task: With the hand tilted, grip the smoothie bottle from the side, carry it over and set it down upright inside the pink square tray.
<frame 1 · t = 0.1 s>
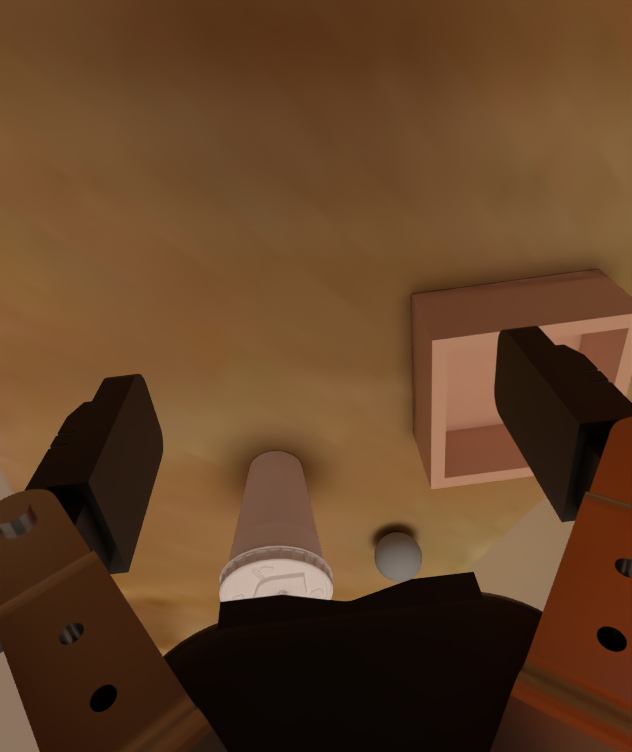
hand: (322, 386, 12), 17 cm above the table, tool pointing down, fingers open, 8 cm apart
smoothie: (275, 468, 38), on the table
ball: (393, 537, 43), on the table
pink square tray: (497, 359, 34), on the table
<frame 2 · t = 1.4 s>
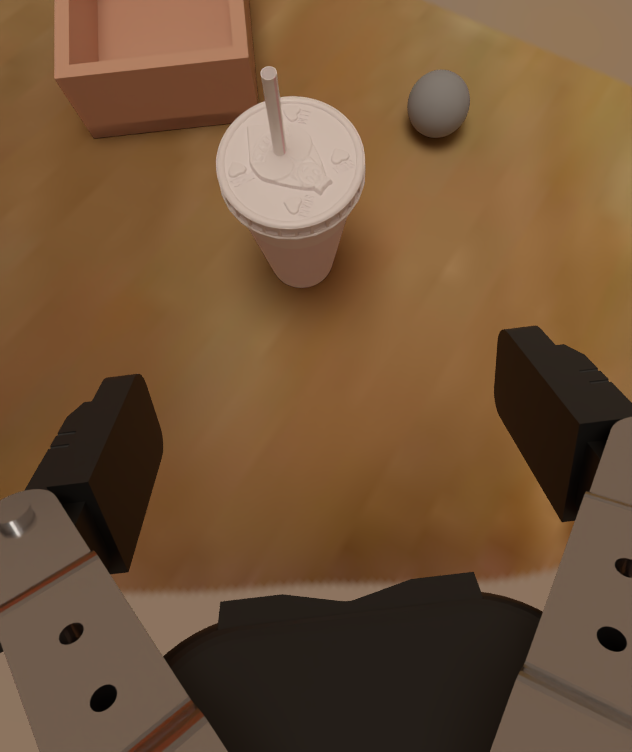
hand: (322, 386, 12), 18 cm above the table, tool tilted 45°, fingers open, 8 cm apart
smoothie: (302, 260, 32), on the table
ball: (432, 124, 34), on the table
pink square tray: (173, 58, 35), on the table
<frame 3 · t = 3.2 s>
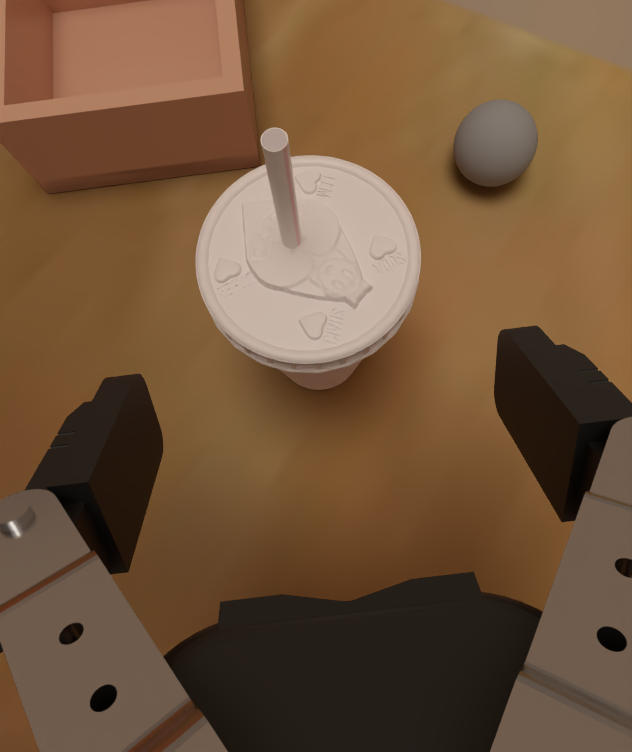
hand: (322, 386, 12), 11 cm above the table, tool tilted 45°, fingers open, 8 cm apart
smoothie: (319, 351, 25), on the table
ball: (484, 168, 26), on the table
pink square tray: (149, 89, 28), on the table
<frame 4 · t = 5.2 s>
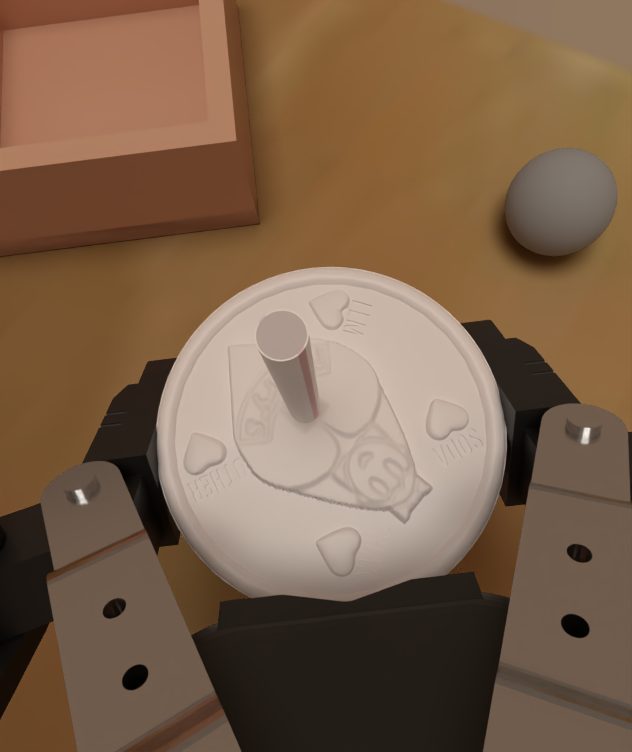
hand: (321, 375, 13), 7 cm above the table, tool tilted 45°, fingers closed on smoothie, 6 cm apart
smoothie: (332, 466, 19), on the table, touching gripper
ball: (540, 228, 21), on the table
pink square tray: (122, 125, 23), on the table
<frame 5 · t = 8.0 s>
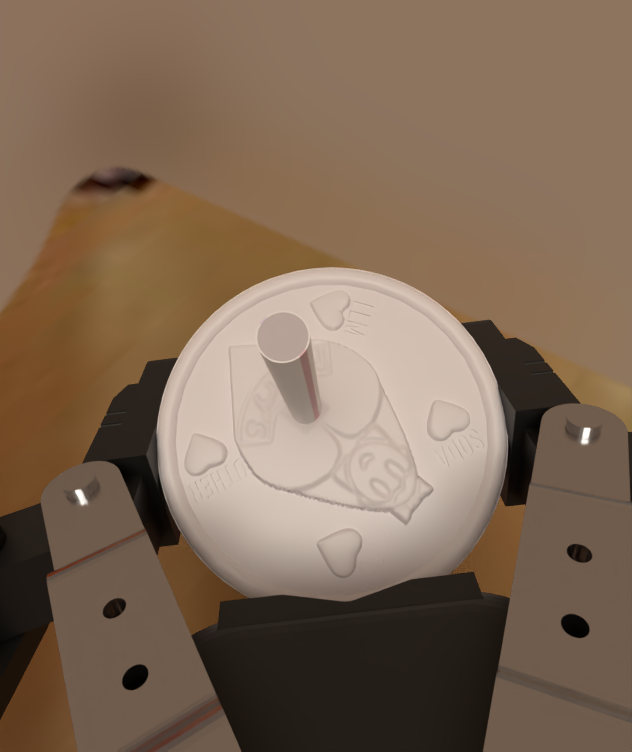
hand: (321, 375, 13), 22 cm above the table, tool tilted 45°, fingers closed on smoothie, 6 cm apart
smoothie: (333, 467, 19), point 15 cm above the table, touching gripper
when the fingers open (10 cm above the table, at t = 11.2 s): smoothie drops 2 cm, resting on pink square tray.
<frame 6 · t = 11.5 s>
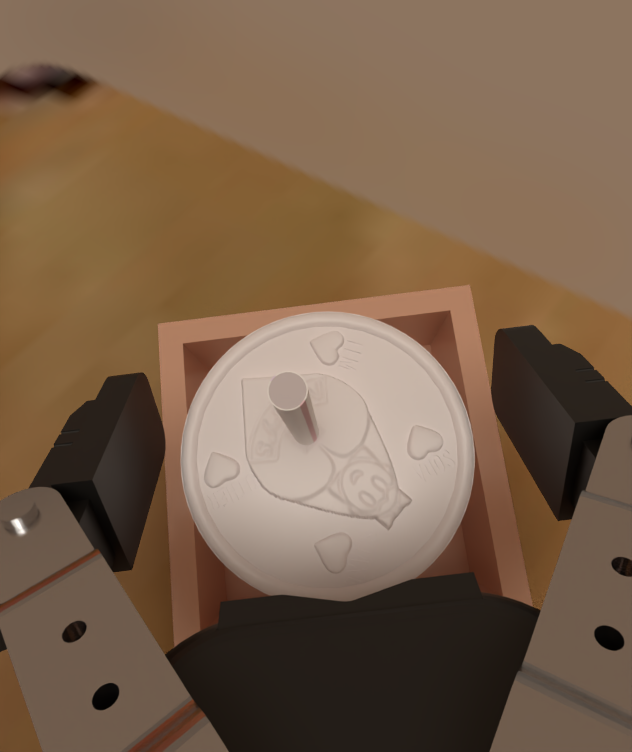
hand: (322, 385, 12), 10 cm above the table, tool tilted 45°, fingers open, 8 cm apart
smoothie: (331, 475, 21), point 1 cm above the table, touching pink square tray
pink square tray: (333, 471, 22), on the table
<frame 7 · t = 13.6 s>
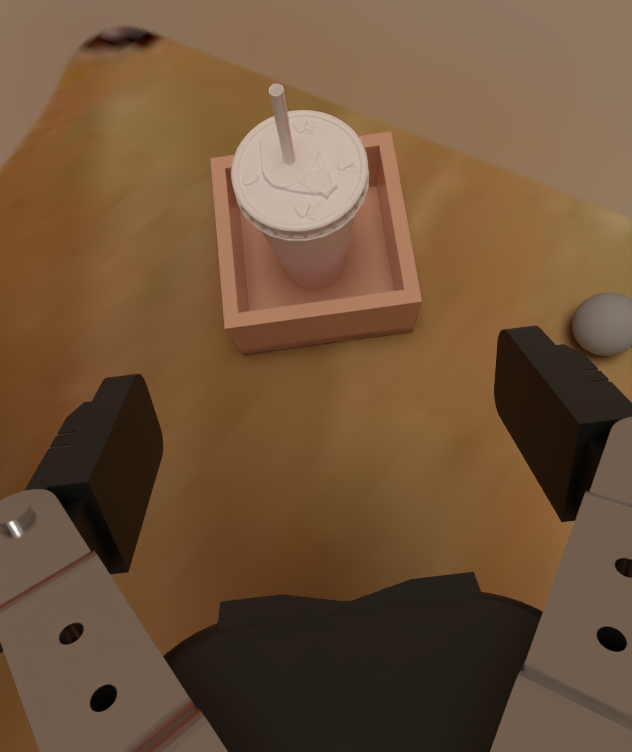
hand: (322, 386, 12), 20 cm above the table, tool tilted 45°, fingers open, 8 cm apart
smoothie: (314, 263, 34), point 1 cm above the table, touching pink square tray
ball: (593, 334, 33), on the table
pink square tray: (316, 265, 35), on the table
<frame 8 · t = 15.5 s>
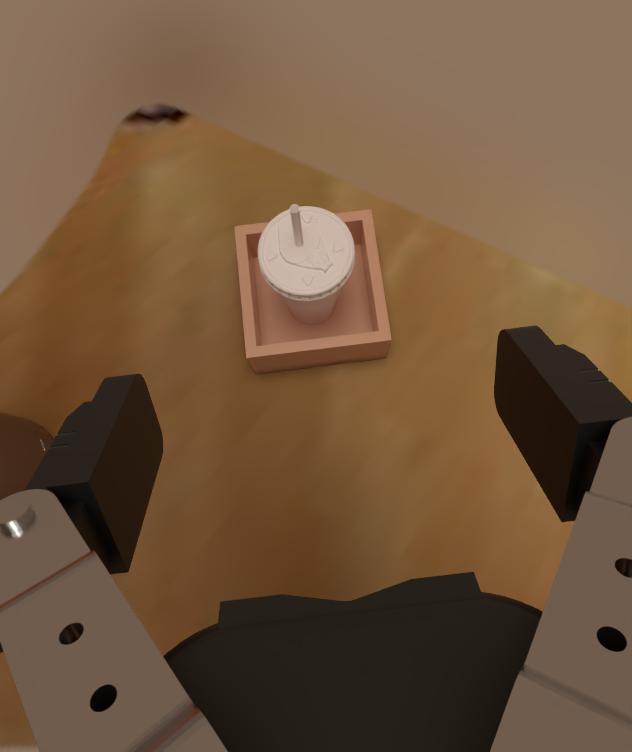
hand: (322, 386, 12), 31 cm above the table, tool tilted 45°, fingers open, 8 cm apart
smoothie: (312, 304, 44), point 1 cm above the table, touching pink square tray
pink square tray: (313, 305, 45), on the table
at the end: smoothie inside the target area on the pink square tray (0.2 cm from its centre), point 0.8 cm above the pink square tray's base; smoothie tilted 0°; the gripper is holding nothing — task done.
